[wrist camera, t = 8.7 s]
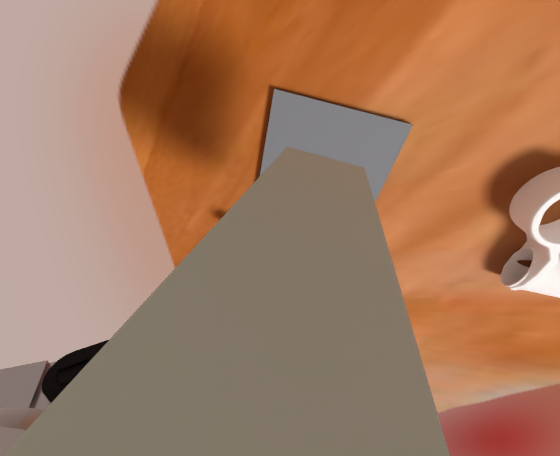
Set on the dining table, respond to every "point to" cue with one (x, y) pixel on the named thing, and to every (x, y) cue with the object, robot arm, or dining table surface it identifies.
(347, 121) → the mat
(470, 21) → the dining table surface
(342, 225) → the pale green rectangular block
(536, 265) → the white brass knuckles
